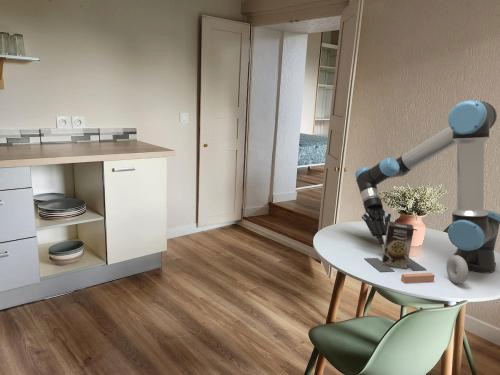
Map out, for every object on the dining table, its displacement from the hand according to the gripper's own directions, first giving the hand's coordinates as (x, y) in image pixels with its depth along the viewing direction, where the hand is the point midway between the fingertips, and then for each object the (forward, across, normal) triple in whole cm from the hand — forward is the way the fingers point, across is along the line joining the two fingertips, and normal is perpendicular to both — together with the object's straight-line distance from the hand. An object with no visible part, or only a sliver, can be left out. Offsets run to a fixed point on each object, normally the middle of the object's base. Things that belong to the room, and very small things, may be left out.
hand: (387, 251), depth 158 cm
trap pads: (+6, 0, +2) cm, 6 cm away
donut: (+17, -15, +13) cm, 26 cm away
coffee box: (+6, 0, +2) cm, 6 cm away
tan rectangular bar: (+16, -1, +12) cm, 20 cm away
